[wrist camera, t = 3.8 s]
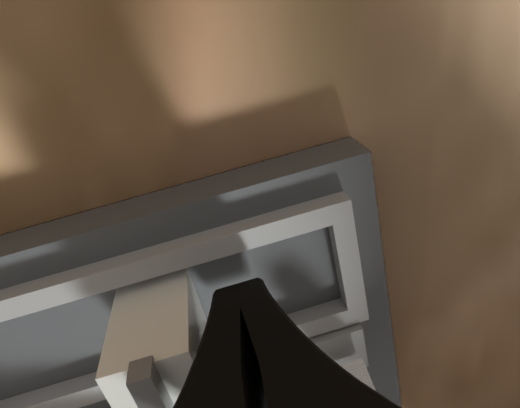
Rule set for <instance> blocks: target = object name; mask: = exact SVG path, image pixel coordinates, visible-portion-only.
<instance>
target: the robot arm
mask: <svg viewBox="0 0 520 408" xmlns="http://www.w3.org/2000/svg"><path fill="white" fill-rule="evenodd" d="M173 408H402V407H400V406H398V405H397V404H395V403H393V402H392V401H390V400H389V399H387V398H386V397H384V396H383V395H381V394H380V393H378V392H376V391H375V390H373V389H372V388H370V387H369V386H367V385H366V384H364V383H363V382H361V381H360V380H358V379H357V378H356V377H354V376H353V375H352V374H350V373H349V372H348V371H346V370H345V369H344V368H342V367H341V366H340V365H339V364H338V363H336V362H335V361H334V360H333V359H331V358H330V357H329V356H328V355H327V354H325V353H324V352H323V351H322V350H321V349H320V348H319V347H318V346H317V345H315V344H314V343H313V342H312V341H311V340H310V339H309V338H308V337H307V336H306V335H305V334H304V333H303V332H302V331H301V330H300V329H299V328H298V327H297V326H296V325H295V323H294V322H293V321H292V320H291V319H290V318H289V317H288V316H287V314H286V313H285V312H284V311H283V310H282V309H281V307H280V306H279V305H278V303H277V302H276V301H275V299H274V298H273V297H272V295H271V294H270V292H269V291H268V289H267V287H266V285H265V283H264V281H263V280H262V279H260V278H258V277H257V278H254V279H251V280H247V281H244V282H240V283H237V284H234V285H230V286H227V287H223V288H220V289H216V290H215V292H214V293H213V296H212V302H211V307H210V311H209V315H208V319H207V322H206V326H205V329H204V332H203V335H202V338H201V341H200V344H199V347H198V350H197V353H196V356H195V358H194V361H193V363H192V366H191V368H190V371H189V373H188V376H187V378H186V381H185V383H184V385H183V387H182V390H181V392H180V394H179V396H178V398H177V400H176V402H175V404H174V406H173Z"/></svg>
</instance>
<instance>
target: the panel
mask: <svg viewBox="0 0 520 408" xmlns="http://www.w3.org/2000/svg"><path fill="white" fill-rule="evenodd" d="M185 268H187V269H188V271H189V274H190V277H191V279H192V282H193V284H194V287H195V290H196V292H197V295H198V298H199V300H200V303H201V306H202V308H203V311H204V314H205V316H206V319H208V315H209V311H210V307H211V302H212V296H213V293H214V292H215V290H216V289H220V288H223V287H227V286H230V285H234V284H237V283H240V282H244V281H247V280H251V279H254V278H257V277H258V278H260V279H262V280H263V281H264V283H265V285H266V287H267V289H268V291H269V292H270V294H271V295H272V297H273V298H274V299H275V301H276V302H277V303H278V305H279V306H280V307H281V309H282V310H283V311H284V312H285V313H286V314H287V316H288V317H289V318H290V319H291V320H292V321H293V322H294V323H295V325H296V326H297V327H298V328H299V329H300V330H301V331H302V332H303V333H304V334H305V335H306V336H307V337H308V338H309V339H310V340H311V341H312V342H313V343H314V344H315V345H317V346H318V347H319V348H320V349H321V350H322V351H323V352H324V353H325V354H327V355H328V356H329V357H330V358H331V359H333V360H334V361H335V362H336V363H338V364H342V363H346V362H349V361H352V360H355V359H359V358H363V360H364V363H365V365H366V368H367V370H368V373H369V375H370V378H371V380H372V382H373V385H374V387H375V390H376V392H378V393H380V394H381V395H383V396H384V397H386V398H387V399H389V400H390V401H392V402H393V403H395V404H397V405H398V406H400V407H402V406H401V397H400V389H399V381H398V373H397V364H396V356H395V348H394V340H393V331H392V323H391V315H390V307H389V298H388V290H387V282H386V274H385V265H384V257H383V249H382V241H381V232H380V224H379V216H378V207H377V199H376V191H375V183H374V174H373V166H372V158H371V152H370V151H369V150H368V149H366V148H365V147H364V146H363V145H361V144H360V143H359V142H357V141H356V140H355V139H353V138H352V137H347V138H344V139H340V140H337V141H333V142H329V143H326V144H322V145H319V146H315V147H312V148H308V149H305V150H301V151H298V152H294V153H290V154H287V155H283V156H280V157H276V158H273V159H269V160H266V161H262V162H259V163H255V164H251V165H248V166H244V167H241V168H237V169H234V170H230V171H227V172H223V173H220V174H216V175H212V176H209V177H205V178H202V179H198V180H195V181H191V182H188V183H184V184H181V185H177V186H173V187H170V188H166V189H163V190H159V191H156V192H152V193H149V194H145V195H142V196H138V197H135V198H131V199H127V200H124V201H120V202H117V203H113V204H110V205H106V206H103V207H99V208H96V209H92V210H88V211H85V212H81V213H78V214H74V215H71V216H67V217H64V218H60V219H57V220H53V221H49V222H46V223H42V224H39V225H35V226H32V227H28V228H25V229H21V230H18V231H14V232H10V233H7V234H3V235H0V408H111V406H110V404H109V403H108V401H107V399H106V398H105V396H104V394H103V392H102V391H101V389H100V387H99V386H98V384H97V382H96V380H95V378H96V373H97V369H98V365H99V361H100V356H101V352H102V348H103V344H104V339H105V335H106V331H107V327H108V322H109V318H110V314H111V310H112V305H113V301H114V297H115V293H116V289H117V288H120V287H123V286H127V285H130V284H134V283H137V282H141V281H144V280H147V279H151V278H154V277H158V276H161V275H165V274H168V273H171V272H175V271H178V270H182V269H185Z"/></svg>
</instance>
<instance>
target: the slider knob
mask: <svg viewBox="0 0 520 408" xmlns="http://www.w3.org/2000/svg"><path fill="white" fill-rule="evenodd" d="M206 322H207V319H206V316H205V314H204V311H203V308H202V306H201V303H200V300H199V298H198V295H197V292H196V290H195V287H194V284H193V282H192V279H191V277H190V274H189V271H188V269H187V268H185V269H182V270H178V271H175V272H171V273H168V274H165V275H161V276H158V277H154V278H151V279H147V280H144V281H141V282H137V283H134V284H130V285H127V286H123V287H120V288H117V289H116V293H115V297H114V301H113V305H112V310H111V314H110V318H109V322H108V327H107V331H106V335H105V339H104V344H103V348H102V352H101V356H100V361H99V365H98V369H97V373H96V378H95V380H96V382H97V384H98V386H99V387H100V389H101V391H102V392H103V394H104V396H105V398H106V399H107V401H108V403H109V404H110V406H111V408H173V406H174V404H175V402H176V400H177V398H178V396H179V394H180V392H181V390H182V387H183V385H184V383H185V381H186V378H187V376H188V373H189V371H190V368H191V366H192V363H193V361H194V358H195V356H196V353H197V350H198V347H199V344H200V341H201V338H202V335H203V332H204V329H205V326H206Z"/></svg>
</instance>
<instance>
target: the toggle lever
mask: <svg viewBox="0 0 520 408" xmlns="http://www.w3.org/2000/svg"><path fill="white" fill-rule="evenodd" d="M339 365H340V366H341V367H342V368H344V369H345V370H346V371H348V372H349V373H350V374H352V375H353V376H354V377H356V378H357V379H358V380H360V381H361V382H363V383H364V384H366V385H367V386H369V387H370V388H372V389H373V390H375V387H374V385H373V382H372V380H371V378H370V375H369V373H368V370H367V368H366V365H365V363H364V360H363V358H359V359H355V360H352V361H349V362H346V363H342V364H339ZM375 391H376V390H375Z"/></svg>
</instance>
